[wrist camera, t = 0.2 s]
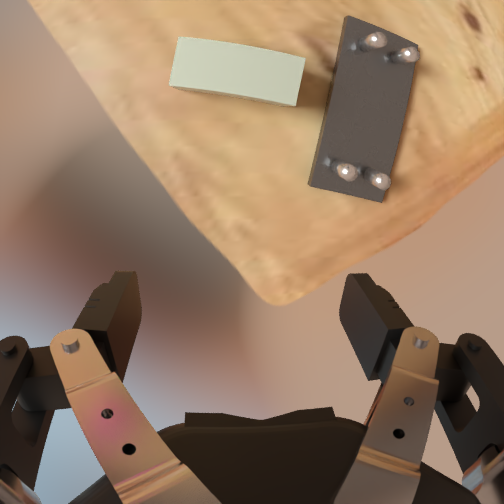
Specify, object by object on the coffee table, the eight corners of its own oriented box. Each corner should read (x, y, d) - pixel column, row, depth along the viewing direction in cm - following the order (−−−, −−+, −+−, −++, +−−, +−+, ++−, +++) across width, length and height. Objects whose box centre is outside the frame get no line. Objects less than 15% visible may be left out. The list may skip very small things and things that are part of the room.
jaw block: (186, 49, 30) (178, 36, 24) (290, 66, 32) (305, 58, 26) (178, 89, 33) (168, 85, 26) (282, 106, 34) (295, 106, 28)
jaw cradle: (344, 17, 30) (360, 6, 25) (413, 46, 31) (435, 41, 26) (307, 184, 38) (319, 195, 34) (377, 200, 40) (396, 212, 35)
